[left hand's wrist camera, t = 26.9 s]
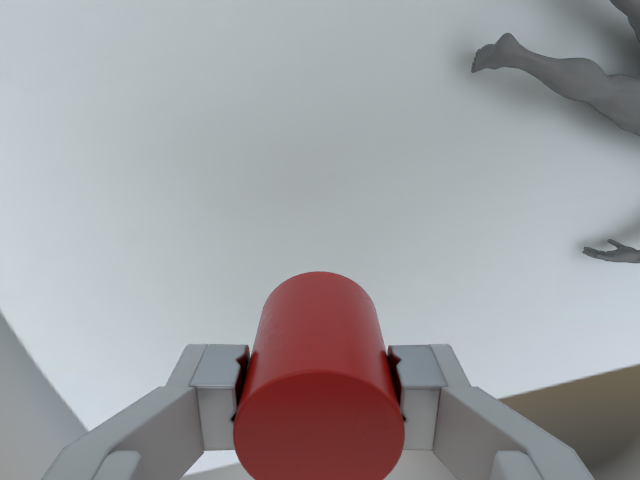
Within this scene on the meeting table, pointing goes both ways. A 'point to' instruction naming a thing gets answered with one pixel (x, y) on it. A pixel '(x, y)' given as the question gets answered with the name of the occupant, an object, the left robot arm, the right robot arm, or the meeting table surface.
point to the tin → (319, 387)
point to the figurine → (579, 91)
